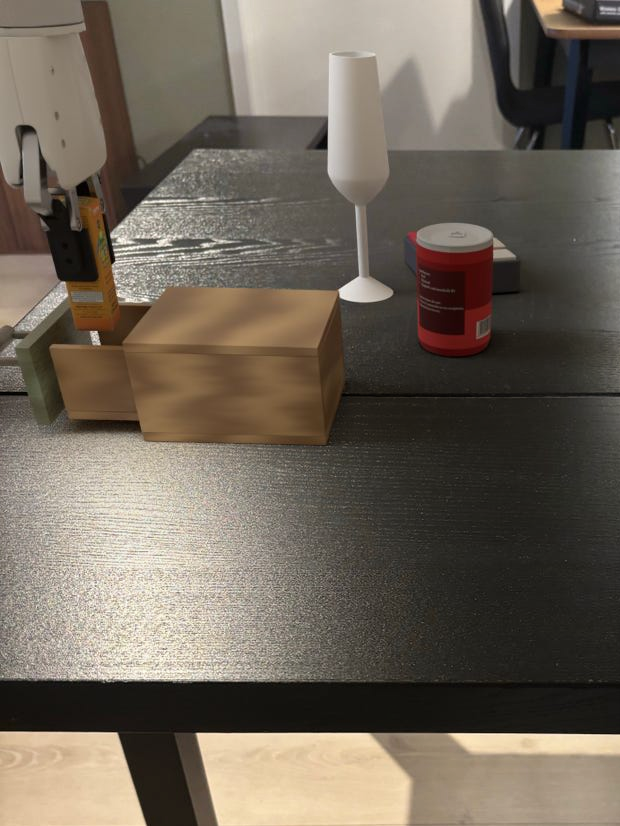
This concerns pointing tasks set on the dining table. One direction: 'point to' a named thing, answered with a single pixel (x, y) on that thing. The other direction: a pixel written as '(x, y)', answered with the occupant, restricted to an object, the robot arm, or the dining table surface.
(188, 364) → the cabinet
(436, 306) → the canned food
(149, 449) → the dining table surface
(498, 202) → the dining table surface
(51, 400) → the drawer
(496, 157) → the dining table surface
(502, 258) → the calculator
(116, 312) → the supplement box
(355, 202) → the champagne flute
